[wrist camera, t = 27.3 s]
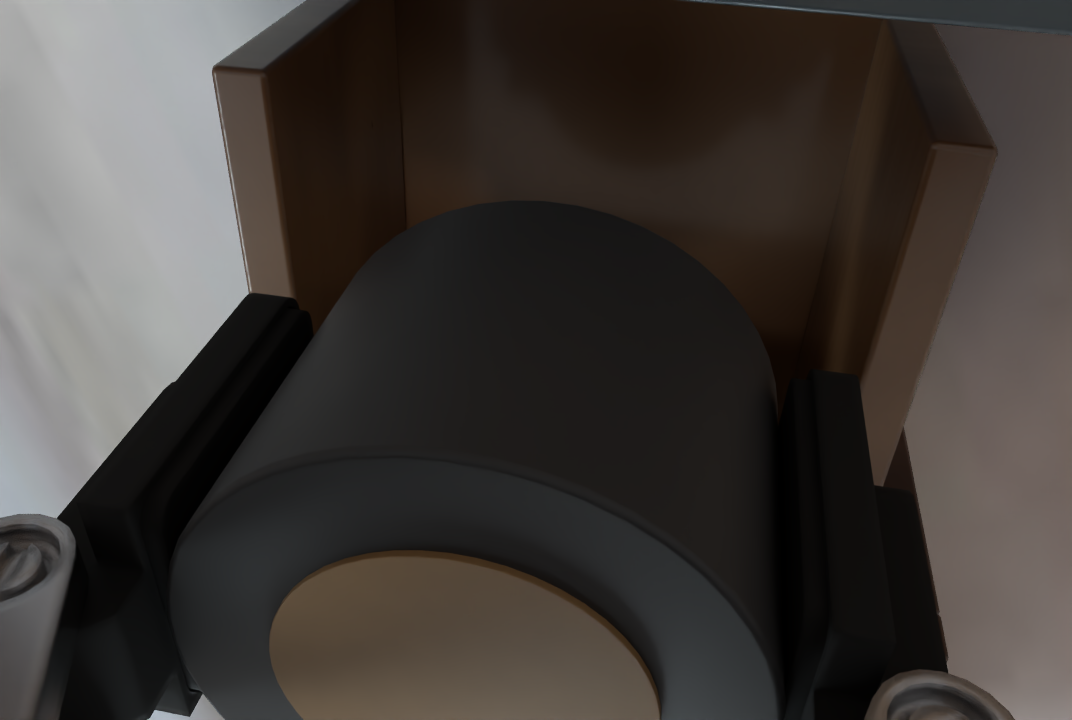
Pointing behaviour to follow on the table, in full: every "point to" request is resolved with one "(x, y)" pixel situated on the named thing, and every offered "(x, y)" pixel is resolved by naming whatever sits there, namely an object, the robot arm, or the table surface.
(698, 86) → the drawer
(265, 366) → the robot arm
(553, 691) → the tape roll
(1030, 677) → the table surface
